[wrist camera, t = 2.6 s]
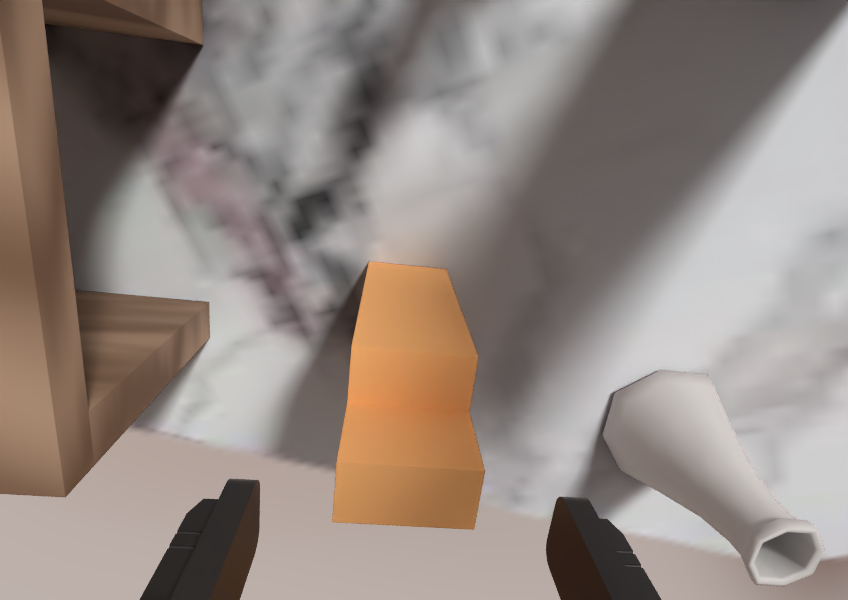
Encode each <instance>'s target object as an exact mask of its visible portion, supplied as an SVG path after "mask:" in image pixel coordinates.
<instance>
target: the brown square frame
mask: <svg viewBox="0 0 848 600" xmlns="http://www.w3.org/2000/svg"><path fill="white" fill-rule="evenodd" d="M45 24H52V25H59V26H66V27H74V28H81V29H89V30H96V31H103V32H111V33H118V34H125V35H133V36H140V37H148V38H155V39H162V40H170V41H177V42H185V43H192V44H199V45H203V16H202V0H0V494H16V495H33V496H52V497H53V496H54V497H66V496H67V495H68V494H69V493H70V492H71V491H72V489H73V488H74V487H75V486H76V485H77V484H78V483H79V482H80V480H81V479H82V478H83V477H84V476H85V475H86V474H87V473H88V472H89V471H90V470H91V468H92V467H93V466H94V465H95V464H96V463H97V462H98V460H100V458H101V457H102V456H103V455H104V454H105V453H106V452H107V451H108V450H109V449H110V447H111V446H112V445H113V444H114V443H115V442H116V441H117V440H118V439H119V438H120V436H121V435H122V434H123V433H124V432H125V431H126V430H127V429H128V428H129V426H130V425H131V424H132V423H133V422H134V421H135V420H136V419H137V418H138V417H139V415H140V414H141V413H142V412H143V411H144V410H145V409H146V408H147V407H148V405H149V404H150V403H151V402H152V401H153V400H154V399H155V398H156V397H157V396H158V394H159V393H160V392H161V391H162V390H163V389H164V388H165V387H166V386H167V384H168V383H169V382H170V381H171V380H172V379H173V378H174V377H175V376H176V374H177V373H178V372H179V371H180V370H181V369H182V368H183V367H184V366H185V365H186V363H187V362H188V361H189V360H190V359H191V358H192V357H193V356H194V355H195V353H196V352H197V351H198V350H199V349H200V348H201V347H202V346H203V345H204V344H205V342H206V341H207V340H208V339H209V338H210V325H209V302H202V301H191V300H180V299H169V298H157V297H146V296H135V295H124V294H113V293H102V292H91V291H80V290H75V287H74V278H73V270H72V261H71V252H70V243H69V234H68V226H67V217H66V208H65V199H64V190H63V182H62V173H61V164H60V155H59V146H58V137H57V129H56V120H55V111H54V102H53V93H52V85H51V76H50V67H49V58H48V49H47V41H46V32H45Z"/></svg>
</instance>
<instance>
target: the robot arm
mask: <svg viewBox="0 0 848 600" xmlns="http://www.w3.org/2000/svg"><path fill="white" fill-rule="evenodd" d="M259 509H260V483H259V481H258V480H244V479H229V480H228V481H227V483H226V485H225V487H224V489H223V491H222V494H221V496H220V497H219V499H203V500H202V501H201V502H200V503H198V504H197V505H196V506H195V507H194V508H193V509H191V510H190V511H189V512H188V513H187V514H186V516H185V518H184V520H183V522H182V523H181V525H180V527H179V529H178V532H177V534H176V535H175V536H174V538H173V540H172V542H171V543H170V547H169V549H167V551H166V553H165V554H164V556H163V558H162V560H161V562H160V564H159V566H158V567H157V569H156V571H155V573H154V575H153V577H152V578H151V580H150V582H149V584H148V585H147V587H146V589H145V591H144V593H143V595H142V597H141V598H140V600H240V597H241V594H242V591H243V588H244V585H245V582H246V579H247V576H248V573H249V570H250V567H251V564H252V561H253V558H254V555H255V551H256V547H257V542H258V536H259V515H260V511H259ZM546 554H547V562H548V565H549V569H550V571H551V574H552V577H553V580H554V582H555V585H556V588H557V591H558V593H559V596H560V599H561V600H661V598H660V597H659V595H658V593H657V591H656V590H655V588H654V586H653V585H652V583H651V581H650V579H649V578H648V576H647V574H646V573H645V571H644V569H643V568H641V564H640V562H639V560H638V559H637V557H636V555H635V554H633V550H632V549H631V547H630V545H629V543H628V542H627V540H626V538H625V537H624V535H623V534H622V533H621V532H620V531H619V530H618V529H617V528H616V527H615V526H614V525H613V524H612V523H611V522H610V521H609V520H608V519H599V517H598V516H597V514H596V512H595V510H594V508H593V506H592V505H591V503H590V501H589V500H588V499H587V498H575V497H559V498H558V499H557V501H556V504H555V508H554V512H553V517H552V521H551V525H550V529H549V534H548V538H547V544H546Z"/></svg>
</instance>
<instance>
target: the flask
mask: <svg viewBox="0 0 848 600" xmlns="http://www.w3.org/2000/svg"><path fill="white" fill-rule="evenodd" d="M603 437H604V439H605V441H606V443H607V445H608V447H609V449H610V451H611V453H612V455H613V457H614V459H615V461H616V463H617V465H618V467H619V469H620V470H621V471H623V472H625V473H626V474H628V475H630V476H631V477H633V478H635V479H637V480H639V481H640V482H642V483H644V484H646V485H648V486H649V487H651V488H653V489H655V490H657V491H659V492H660V493H662V494H664V495H665V496H667V497H669V498H670V499H672V500H674V501H675V502H677V503H679V504H680V505H682V506H683V507H685V508H687V509H688V510H690V511H692V512H693V513H695V514H697V515H698V516H700V517H701V518H702V519H704V520H705V521H706V522H707V523H708V524H709V525H711V526H712V527H713V528H714V529H715V530H716V531H718V532H719V533H720V534H721V535H722V536H723V537H725V538H726V539H727V540H728V541H729V542H730V543H731V544H732V545H733V547H734V548H735V549H736V550H737V551H738V552H739V554H740V555H741V557H742V559H743V562H744V564H745V566H746V569H747V571H748V573H749V576H750V578H751V580H752V581H753V582H754V583H755V584H756V585H769V586H786V585H788V584H791V583H793V582H795V581H798V580H800V579H802V578H804V577H807V576H809V575H812V574H813V573H814V571H815V569H816V567H817V565H818V563H819V561H820V559H821V557H822V555H823V553H824V551H825V549H824V546H823V543H822V540H821V537H820V534H819V531H818V529H817V528H816V527H815V526H814V525H813V524H812V523H810V522H808V521H805V520H798V519H796V518H795V517H794V516H792V515H791V514H790V513H789V512H788V511H787V510H786V509H785V508H784V507H783V506H782V505H781V504H780V503H779V502H778V501H777V500H776V499H775V498H774V496H773V495H772V493H771V492H770V491H769V489H768V488H767V487H766V485H765V484H764V482H763V481H762V480H761V478H760V477H759V475H758V474H757V473H756V471H755V470H754V468H753V467H752V465H751V463H750V461H749V459H748V457H747V455H746V453H745V451H744V449H743V447H742V445H741V443H740V441H739V439H738V437H737V435H736V433H735V431H734V429H733V427H732V425H731V423H730V421H729V419H728V417H727V415H726V412H725V410H724V408H723V406H722V403H721V401H720V399H719V397H718V394H717V392H716V390H715V388H714V386H713V383H712V381H711V379H710V377H709V375H707V374H697V373H688V372H678V371H669V370H659V371H657V372H655V373H653V374H651V375H649V376H647V377H645V378H643V379H641V380H639V381H637V382H635V383H633V384H631V385H629V386H627V387H625V388H623V389H621V390H619V391H617V392H615V394H614V397H613V401H612V404H611V408H610V411H609V414H608V418H607V421H606V425H605V428H604V431H603Z"/></svg>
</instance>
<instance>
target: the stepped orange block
mask: <svg viewBox="0 0 848 600" xmlns="http://www.w3.org/2000/svg"><path fill="white" fill-rule="evenodd" d="M477 363H478V354H477V351H476V348H475V346H474V343H473V340H472V338H471V335H470V332H469V329H468V327H467V324H466V321H465V319H464V316H463V313H462V310H461V308H460V305H459V302H458V300H457V297H456V294H455V292H454V289H453V286H452V283H451V281H450V278H449V275H448V273H447V270H446V269H439V268H429V267H419V266H409V265H399V264H389V263H379V262H370V261H369V264H368V269H367V274H366V278H365V283H364V288H363V293H362V298H361V303H360V308H359V312H358V317H357V322H356V327H355V332H354V337H353V342H352V347H351V360H350V373H349V386H348V399H347V407H346V412H345V418H344V423H343V429H342V435H341V440H340V446H339V451H338V457H337V463H336V477H335V491H334V505H333V519H332V522H338V523H339V522H340V523H357V524H377V525H396V526H415V527H434V528H453V529H472V530H474V527H475V522H476V516H477V511H478V506H479V501H480V495H481V490H482V485H483V479H484V474H485V469H484V465H483V462H482V458H481V454H480V450H479V446H478V443H477V439H476V435H475V431H474V427H473V424H472V420H471V416H470V412H469V411H470V405H471V399H472V393H473V387H474V381H475V375H476V369H477Z"/></svg>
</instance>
